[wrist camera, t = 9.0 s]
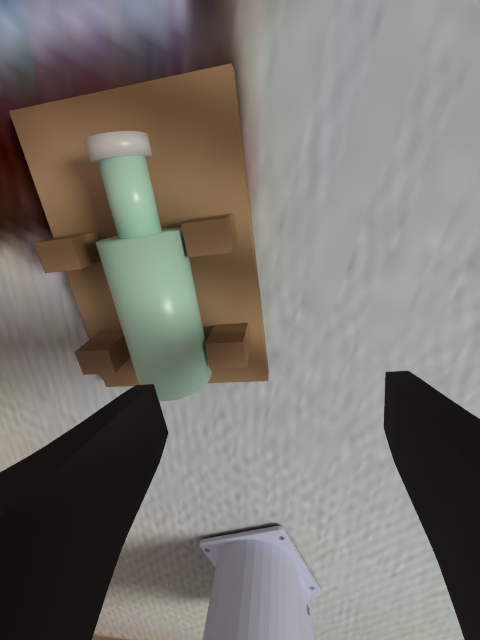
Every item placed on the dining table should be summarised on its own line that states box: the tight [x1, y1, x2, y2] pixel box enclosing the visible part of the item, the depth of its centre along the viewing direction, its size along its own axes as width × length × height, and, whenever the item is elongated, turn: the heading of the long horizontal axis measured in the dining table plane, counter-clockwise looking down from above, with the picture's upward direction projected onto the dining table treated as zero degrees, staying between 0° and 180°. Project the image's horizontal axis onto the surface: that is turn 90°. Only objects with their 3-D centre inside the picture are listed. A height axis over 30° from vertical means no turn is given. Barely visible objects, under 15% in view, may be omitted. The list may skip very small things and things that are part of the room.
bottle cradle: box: [9, 64, 269, 387], centre depth 17 cm, size 16×11×3 cm
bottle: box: [84, 131, 212, 401], centre depth 15 cm, size 12×4×4 cm
